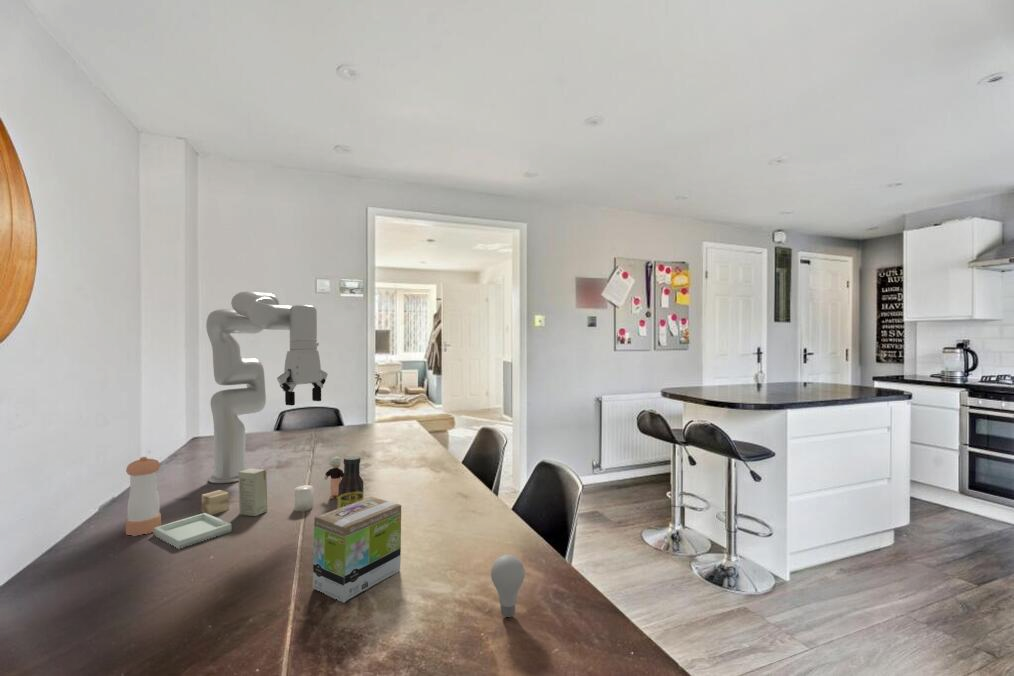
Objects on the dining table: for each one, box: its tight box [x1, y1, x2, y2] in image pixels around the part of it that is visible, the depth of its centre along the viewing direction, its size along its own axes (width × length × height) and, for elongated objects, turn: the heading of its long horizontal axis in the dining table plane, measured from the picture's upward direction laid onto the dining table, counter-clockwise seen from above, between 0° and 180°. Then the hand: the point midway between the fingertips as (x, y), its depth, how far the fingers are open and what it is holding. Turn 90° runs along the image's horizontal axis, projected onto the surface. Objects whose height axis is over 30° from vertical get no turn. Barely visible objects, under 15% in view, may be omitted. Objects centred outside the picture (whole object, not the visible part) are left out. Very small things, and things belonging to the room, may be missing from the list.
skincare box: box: [238, 467, 268, 517], centre depth 133 cm, size 6×4×12 cm
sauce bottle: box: [336, 455, 365, 509], centre depth 118 cm, size 7×6×20 cm
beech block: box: [201, 489, 230, 516], centre depth 135 cm, size 5×5×5 cm
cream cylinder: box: [294, 484, 314, 512], centre depth 137 cm, size 5×5×6 cm
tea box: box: [312, 496, 402, 604], centre depth 97 cm, size 15×10×15 cm, turn 148°
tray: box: [153, 512, 232, 550], centre depth 119 cm, size 14×12×2 cm
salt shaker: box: [125, 456, 162, 536], centre depth 121 cm, size 7×7×19 cm
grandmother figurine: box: [323, 456, 344, 500], centre depth 146 cm, size 8×4×13 cm, turn 84°
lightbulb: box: [490, 554, 526, 618], centre depth 84 cm, size 6×6×11 cm
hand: (303, 402), depth 140 cm, fingers open, 9 cm apart
